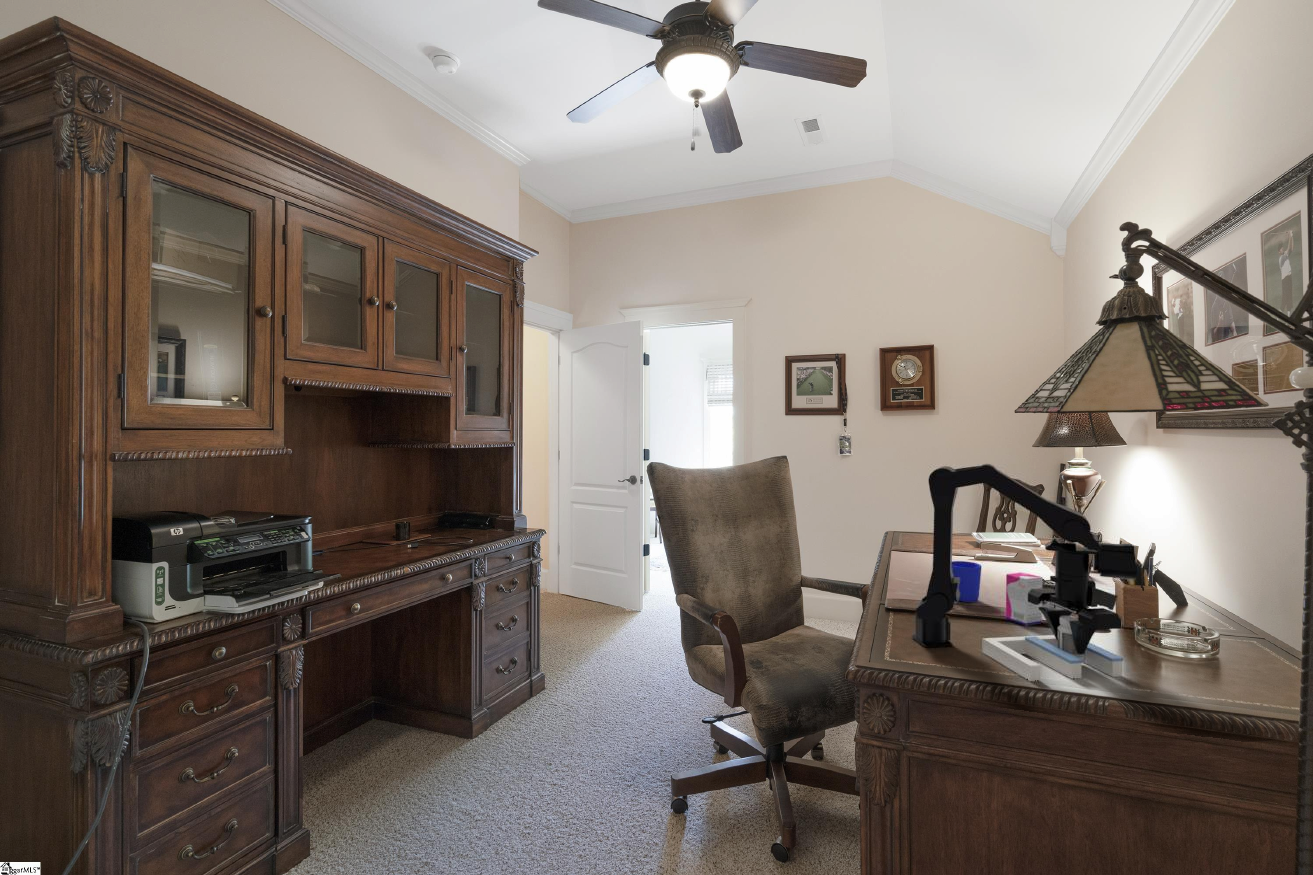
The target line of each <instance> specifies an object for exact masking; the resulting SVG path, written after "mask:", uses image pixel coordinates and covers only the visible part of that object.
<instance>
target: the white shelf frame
mask: <svg viewBox="0 0 1313 875" xmlns="http://www.w3.org/2000/svg"><path fill="white" fill-rule="evenodd" d="M981 642H982V646H981V647H982V648H981V650H982V652H981V653H982V654H984V655H986V656H988V657H989V658H991V659H993V660H994V661H996V662H998V663H999V664H1001V665H1003V666H1005V667H1006V668H1008V669H1010V670H1011V671H1012V672H1015V673H1016V674H1017V675H1019V676H1021V677H1022V678H1024V679H1026V680H1027V679H1028V680H1027V681H1029V682H1040V681H1041V665H1040V664H1039V663H1037V662H1035V661H1033V660H1031V659H1030V658H1028V657H1026V656H1024V655H1027V656H1029V657H1031V658H1033V659H1034V660H1036V661H1038V662H1040V663H1042V664H1044V665H1045V666H1048V667H1050V668H1051V669H1053V670H1054V671H1056V672H1058V673H1060V674H1062V675H1063V676H1066V677H1067V678H1069V679H1071V680H1077V679H1076V678H1081V679H1082V664H1083V663H1085V664H1086V665H1088V666H1090V667H1093V668H1094V669H1096V670H1098V671H1100V672H1102V673H1104V674H1106V675H1109V677H1110V676H1111V677H1113V678H1114V677H1115V678H1116V677H1123V662H1124V657H1122V656H1119V654H1116V653H1113V652H1111V651H1109V650H1107V649H1104V648H1102V647H1100V646H1098V645H1096V644H1094V643H1091V642H1089V644H1088V646H1087V648H1086V650H1085V661H1084V662H1082V660H1081V659H1079V658H1077V657H1075V656H1073V655H1071V654H1069V653H1067V652H1065V651H1063V650H1061V649H1059V648H1058V641H1057V639H1056V638H1055V636H1054V634H1049V635H1047V634H1046V635H1027V636H1026V635H1025V636H1009V637H1008V636H1007V637H1005V636H1004V637H987V638H986V637H985V638H983V637H982V640H981ZM1073 678H1075V679H1073ZM1035 680H1036V681H1035ZM1037 680H1039V681H1037Z"/></svg>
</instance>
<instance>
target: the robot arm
mask: <svg viewBox="0 0 1313 875" xmlns="http://www.w3.org/2000/svg"><path fill="white" fill-rule="evenodd" d="M979 484H980V485H981V484H986V485H987V486H989V487H990V488H992V489H994V490H995V491H996V492H998V493H1000V494H1002V495H1003V496H1005V497H1007V498H1008V499H1010V500H1011V501H1013V502H1014V503H1016V504H1018V505H1019V506H1020V507H1022V508H1024V509H1026V510H1027V511H1029V512H1031V513H1032V514H1033V515H1035V516H1037V517H1038V518H1039V519H1040V520H1041V521H1042V522H1043V523H1044V524H1045V525H1046V526H1047V527H1048V528H1050V530H1052V531H1053V532H1054V533H1055V534H1056V535H1058V536H1059V537H1060V538H1061V539H1062V540H1064V542H1063V541H1059V540H1058V539H1057V538H1056V537H1052V539H1051V540H1050V541H1049V542H1047V543H1045V544H1044V548H1045V550H1046V551H1053V552H1055V561H1054V562H1055V563H1054V564H1055V566H1054V568H1055V570H1054V571H1055V574H1054V575H1050V577H1049V579H1050V582H1053V583H1054V589H1053V588H1050V587H1047V588H1045V587H1044V588H1043V587H1042V589H1031V590H1030V591H1029V592H1028V602H1030V603H1032V604H1035V605H1039V604H1040V603H1041V601H1042V607H1039V610H1040V611H1041V612H1042V616H1043V617H1044V619H1045V621H1046V622H1047V623H1048V626H1049V627H1050V629H1051V632H1052V633H1053V634H1052V635H1054V636H1055V638H1056V639H1057V641H1058V626H1059V625H1061V624H1060V617H1061V616H1072V614H1075V615H1077V617H1078V621H1069V623H1070V627H1071V631H1072V635H1073V639H1074V643H1075V647H1076V650H1077V653H1078V654H1084V652H1085V650H1086V648H1087V646H1088V644H1089V643H1091V639H1092V638H1093V636H1094V635H1095V632H1097V631H1098V630H1117V629H1119V630H1120V629H1122V627H1123V625H1122V622H1123V620H1122V616H1121V615H1120V614H1119V613H1117V612H1114V609H1115V605H1116V603H1117V600H1118V598H1119V596H1118V595H1116V594H1113V593H1111V592H1108V591H1105V590H1102V589H1099V588H1097V585H1096V582H1095V580H1093V579H1090V555H1092V570H1093V572H1097V574H1099V577H1101V578H1102V577H1103V578H1104V577H1105V578H1113V579H1123V580H1133V581H1135V580H1136V579H1137V573H1138V564H1137V563H1136V553H1135V546H1134V545H1133V543H1109V542H1108V543H1107V542H1100V540H1099V537H1098V536H1095V535H1094V534H1093V533H1092V532H1091V528H1092V527H1091V524H1090V522H1089V520H1088V518H1087V517H1086V516H1085V515H1084V514H1083V513H1081V512H1079V511H1077V510H1075V509H1073V508H1070V507H1067V506H1066V505H1063V504H1060V503H1057V502H1054V501H1051V500H1049V499H1046V498H1045V497H1044V496H1042V495H1040V494H1039V493H1037V492H1035V491H1033V490H1032V489H1031V488H1028V487H1027V486H1026V485H1024V484H1022V483H1020V482H1019V481H1017V480H1015V479H1014V478H1012V477H1011V476H1009V475H1007V474H1006V473H1004V472H1002V471H1000V470H999V469H998V468H996V466H994V465H993V464H992V463H991V464H990V463H984V464H981V465H975V466H974V465H973V466H968V467H959V468H954V467H951V466H948V465H947V466H946V465H945V466H944V465H943V466H940V467H938V468H936V469H934V470H933V471H932V472H930V474H929V476H928V486H929V492H930V493H929V494H930V497H931V502H932V505H933V538H932V539H933V541H932V542H933V544H932V571H931V574H930V579H929V583H928V586H927V591H926V595H925V596H924V597H923V598H921V599H920V601H919V602H918V604H917V606H916V608H915V610H914V611H915V619H914V620H915V622H914V623H915V628H914V629H915V630H914V631H915V634H912V635H911V639H914V640H915V641H916V642H918V643H919V644H920V645H922V646H923V647H925V648H934V647H935V648H937V647H939V648H941V647H953V646H954V644H953V642H951V640H952V639H951V628H952V627H951V625H952V622H950V620H949V619H950V616H948V615H947V613H949V612H950V611H952V610H953V608H954V607H955V604H956V603H959V601H958V599H959V597H960V592H959V583H960V577H956V578H954V576H953V572H952V562H953V533H954V532H953V531H954V529H953V528H954V506H955V503H956V499H957V495H958V490H959V488H963V487H970V486H973V485H974V486H976V485H979ZM1077 543H1078V544H1080V546H1082V547H1078V546H1077ZM1098 606H1100V607H1098ZM1089 607H1090V608H1089ZM1096 607H1097V608H1096ZM1106 608H1107V609H1106Z"/></svg>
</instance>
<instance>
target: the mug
mask: <svg viewBox="0 0 1313 875" xmlns="http://www.w3.org/2000/svg"><path fill="white" fill-rule="evenodd" d="M952 572H953V576H954V578H956V577H960V583H959V592H960V597H959V599H958V602H960V601H962V602H961V603H967V602H971V603H976V602H977V601H978V600H979V597H980V587H981V577H982V576H981V575H982V565H981V564H979V563H977V562H973V561H972V562H971V561H963V560H954V561H953V560H952Z"/></svg>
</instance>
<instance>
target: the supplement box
mask: <svg viewBox="0 0 1313 875" xmlns="http://www.w3.org/2000/svg"><path fill="white" fill-rule="evenodd" d="M1005 577H1006V579H1005V580H1006V581H1005V590H1006V591H1005V596H1006V597H1005V620H1007V621H1011V622H1012V623H1013V622H1014V623H1017V624H1019V625H1023V626H1025V627H1026V626H1032V625H1037V624H1042V623H1043V614H1042V612H1041V611H1040V610H1039V607H1042V601H1041V603H1040V604H1039V605H1035V604H1032V603H1030V602H1028V592H1029V591H1030V590H1031V589H1043V576H1039V575H1035V574H1030V573H1026V572H1014V573H1006V575H1005Z"/></svg>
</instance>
